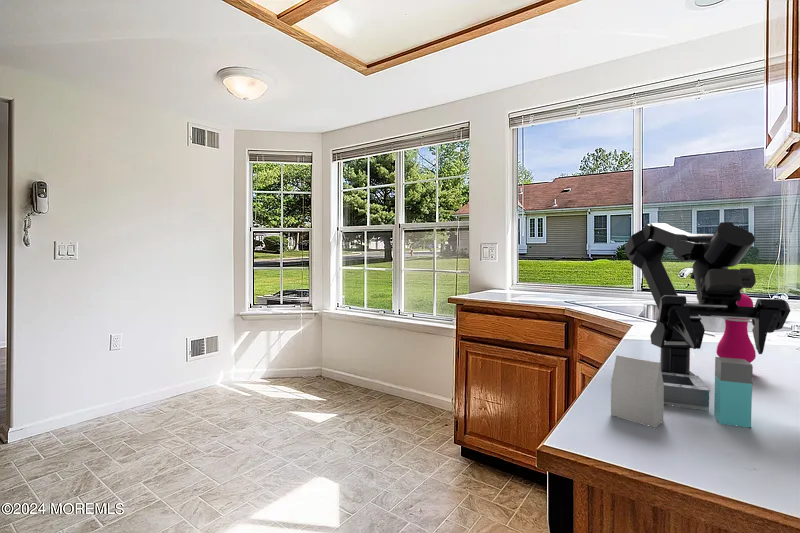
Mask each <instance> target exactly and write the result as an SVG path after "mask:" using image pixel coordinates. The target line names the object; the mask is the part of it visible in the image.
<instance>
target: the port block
mask: <svg viewBox="0 0 800 533" xmlns="http://www.w3.org/2000/svg"><path fill="white" fill-rule="evenodd" d="M662 378H663V384H664V404H666V405H665V406H668V405H671V406H670V407H676V406H677V407H676V408H686V409H691V408H693V410H701V411H706V412H708V411H709V412H710V389H709V387H707V385H706V384H705V382H703V381H702V379H701V378H700V377H699V375H696V374H695V375H685V374H675V373H665V372H662ZM672 405H673V406H672Z"/></svg>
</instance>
